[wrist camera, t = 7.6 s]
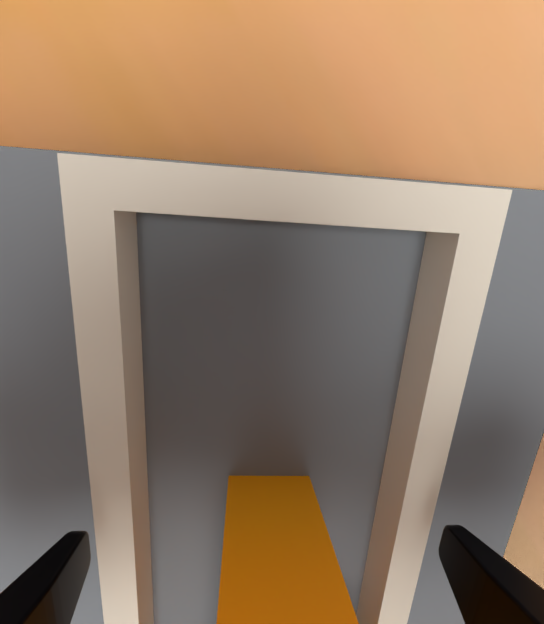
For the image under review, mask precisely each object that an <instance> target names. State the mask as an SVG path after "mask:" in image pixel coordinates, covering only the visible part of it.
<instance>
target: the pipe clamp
mask: <svg viewBox="0 0 544 624" xmlns="http://www.w3.org/2000/svg"><path fill="white" fill-rule="evenodd" d="M216 624H359V623H358V620H357V617H356V614H355V611H354V608H353V605H352V602H351V599H350V596H349V593H348V590H347V587H346V584H345V581H344V578H343V575H342V572H341V569H340V566H339V563H338V560H337V557H336V554H335V551H334V548H333V545H332V542H331V539H330V536H329V533H328V530H327V527H326V524H325V521H324V518H323V515H322V512H321V509H320V506H319V503H318V501H317V498H316V495H315V492H314V489H313V486H312V483H311V480H310V477H309V476H229V477H228V489H227V501H226V513H225V525H224V538H223V550H222V562H221V574H220V586H219V599H218V611H217V623H216Z"/></svg>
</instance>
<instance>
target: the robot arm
mask: <svg viewBox="0 0 544 624" xmlns="http://www.w3.org/2000/svg"><path fill="white" fill-rule="evenodd" d="M438 553H439V558H440V561H441V563H442V566H443V569H444V571H445V574H446V576H447V579H448V581H449V584H450V587H451V589H452V592H453V594H454V597H455V599H456V602H457V605H458V607H459V610H460V612H461V615H462V617H463V620H464V622H465V624H544V589H543V588H541V587H540V586H539V585H537V584H536V583H535V582H534V581H532V580H531V579H530V578H528V577H527V576H526V575H525V574H523V573H522V572H521V571H520V570H518V569H517V568H516V567H514V566H513V565H512V564H511V563H509V562H508V561H507V560H505V559H504V558H503V557H502V556H500V555H499V554H498V553H497V552H495V551H494V550H493V549H491V548H490V547H489V546H488V545H486V544H485V543H484V542H482V541H481V540H480V539H479V538H477V537H476V536H475V535H474V534H472V533H471V532H470V531H468V530H467V529H466V528H464V527H463V526H461V525H446V526H445V527H444V528H443V532H442V536H441V540H440V544H439V548H438ZM90 562H91V551H90V542H89V534H88V532H87V531H70V532H68V533H66V534H65V535H64V536H63V537H62V538H61V539H60V540H59V541H57V542H56V543H55V544H54V545H53V546H52V547H51V548H50V549H49V550H47V551H46V552H45V553H44V554H43V555H42V556H41V557H40V558H39V559H38V560H36V561H35V562H34V563H33V564H32V565H31V566H30V567H29V568H28V569H26V570H25V571H24V572H23V573H22V574H21V575H20V576H19V577H18V578H17V579H15V580H14V581H13V582H12V583H11V584H10V585H9V586H8V587H7V588H5V589H4V590H3V591H2V592H1V593H0V624H70V623H71V620H72V617H73V614H74V611H75V609H76V606H77V603H78V600H79V597H80V594H81V591H82V588H83V585H84V582H85V579H86V576H87V573H88V570H89V566H90Z"/></svg>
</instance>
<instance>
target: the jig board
mask: <svg viewBox="0 0 544 624" xmlns="http://www.w3.org/2000/svg"><path fill="white" fill-rule="evenodd" d="M543 433H544V190H533V189H521V188H508V187H496V186H484V185H472V184H459V183H447V182H435V181H423V180H410V179H398V178H386V177H374V176H361V175H349V174H337V173H325V172H312V171H300V170H288V169H276V168H263V167H251V166H239V165H227V164H214V163H202V162H190V161H178V160H165V159H153V158H141V157H129V156H116V155H104V154H92V153H80V152H67V151H55V150H43V149H31V148H18V147H6V146H0V593H1V592H2V591H3V590H4V589H5V588H7V587H8V586H9V585H10V584H11V583H12V582H13V581H14V580H15V579H17V578H18V577H19V576H20V575H21V574H22V573H23V572H24V571H25V570H26V569H28V568H29V567H30V566H31V565H32V564H33V563H34V562H35V561H36V560H38V559H39V558H40V557H41V556H42V555H43V554H44V553H45V552H46V551H47V550H49V549H50V548H51V547H52V546H53V545H54V544H55V543H56V542H57V541H59V540H60V539H61V538H62V537H63V536H64V535H65V534H66V533H68V532H70V531H87V532H88V534H89V542H90V551H91V562H90V566H89V570H88V573H87V576H86V579H85V582H84V585H83V588H82V591H81V594H80V597H79V600H78V603H77V606H76V609H75V611H74V614H73V617H72V620H71V623H70V624H216V623H217V611H218V599H219V586H220V574H221V562H222V550H223V538H224V525H225V513H226V501H227V489H228V477H229V476H309V477H310V480H311V483H312V486H313V489H314V492H315V495H316V498H317V501H318V503H319V506H320V509H321V512H322V515H323V518H324V521H325V524H326V527H327V530H328V533H329V536H330V539H331V542H332V545H333V548H334V551H335V554H336V557H337V560H338V563H339V566H340V569H341V572H342V575H343V578H344V581H345V584H346V587H347V590H348V593H349V596H350V599H351V602H352V605H353V608H354V611H355V614H356V617H357V620H358V623H359V624H465V622H464V620H463V617H462V615H461V612H460V610H459V607H458V605H457V602H456V599H455V597H454V594H453V592H452V589H451V587H450V584H449V581H448V579H447V576H446V574H445V571H444V569H443V566H442V563H441V561H440V558H439V553H438V548H439V544H440V540H441V536H442V532H443V528H444V527H445V526H446V525H461V526H463V527H464V528H466V529H467V530H468V531H470V532H471V533H472V534H474V535H475V536H476V537H477V538H479V539H480V540H481V541H482V542H484V543H485V544H486V545H488V546H489V547H490V548H491V549H493V550H494V551H495V552H497V553H498V554H499V555H500V556H502V557H503V555H504V552H505V549H506V546H507V543H508V540H509V537H510V534H511V531H512V528H513V525H514V522H515V519H516V515H517V512H518V509H519V506H520V503H521V500H522V497H523V494H524V491H525V488H526V485H527V482H528V479H529V476H530V473H531V470H532V467H533V464H534V460H535V457H536V454H537V451H538V448H539V445H540V442H541V439H542V436H543Z"/></svg>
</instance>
